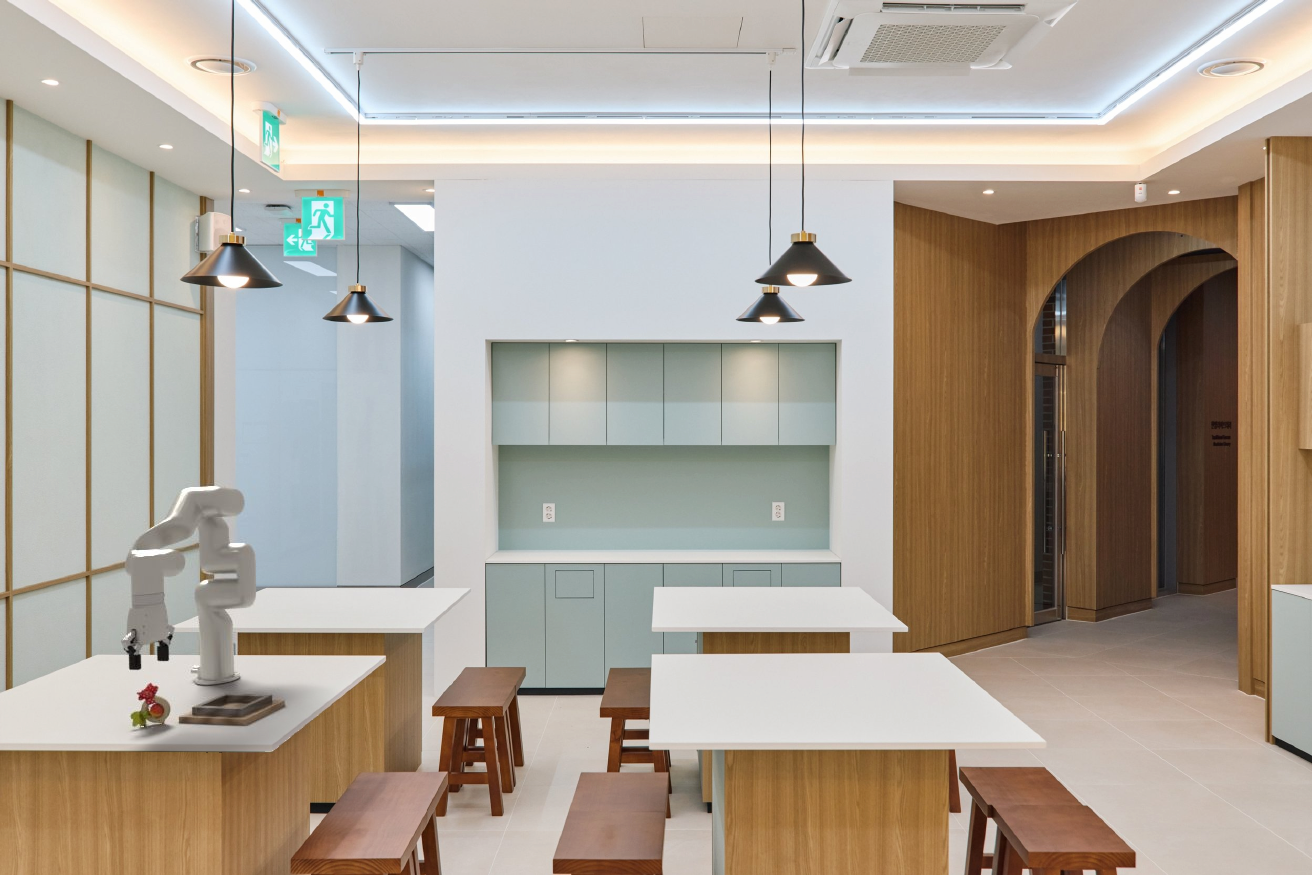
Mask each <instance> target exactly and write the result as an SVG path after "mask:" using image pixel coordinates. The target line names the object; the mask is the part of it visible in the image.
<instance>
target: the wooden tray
mask: <svg viewBox="0 0 1312 875" xmlns="http://www.w3.org/2000/svg"><path fill="white" fill-rule="evenodd" d="M285 706H286V700H284V699H273V694H258V693H257V694H256V693H255V694H254V693H253V694H252V693H229V692H228V693H225V692H224V693H223V694H220V695H218V696H214V697H213V698H210V699H208V700H205V701H204V702H201V703H198V704H196V705H194V706H192V707H191V711H188V712H186V713H183V714H182V715H180V716H178V723H185V724H186V723H189V724H205V725H206V724H210V725H212V724H213V725H230V726H231V725H232V726H233V725H235V726H246V725H248V724H250V723H252V722H255V721H256V720H259V719H260V718H261V719H262V718H263V717H265V716H267V715H269V714H271V713H273V712H275V711H277V710H279V709H281V708H284V707H285Z"/></svg>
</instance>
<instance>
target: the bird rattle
mask: <svg viewBox="0 0 1312 875" xmlns="http://www.w3.org/2000/svg"><path fill="white" fill-rule="evenodd" d="M158 690H159V687H158V685H154V684H153V683H152V682H149V683H148V684H147V685H146V687H145V688H144V689H142V690H141V691H140V692H136V694H137V695H138V698H137V699H138V701H140V702H141V701H143V700H144V701H143V702H142V704H141V709H140V710H137V711H136V710H135V711H133V712H132V713H131V714H130V719H131V720H132V727H137V726H138V725H139V726H140V727H141V726H144V725H145V726H146V724H147V722H151V723H154V724H157V723H158V724H159V723H163V724H165V722H166V719H167V718H168V717H169V715H171V714H170V713H171V705H170V703H169V701H168V700H167V699H166V698H164V697H162V696H160V695H156V694H157V692H158ZM150 705H151V706H150ZM145 723H146V724H145Z"/></svg>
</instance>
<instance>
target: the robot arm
mask: <svg viewBox="0 0 1312 875" xmlns="http://www.w3.org/2000/svg"><path fill="white" fill-rule="evenodd" d="M245 504H246V503H245V497H244V495H243V493H242V491H240V490H239V489H237V488H233V487H232V488H231V487H225V486H224V487H222V486H198V487H186V488H184V489H182V490H180V491H179V492H178V493H177V495H176V496H175V498H174V501H173V502H172V504H171V506H170V508H169V510H168V512H167V513H166V515H165V518H164V520H163V521H161V522H160V523H158V524H155V525H154V526H153V527H151V528H149V529H148V530H146V531H144V532H143V533H142V534H140V535H139V536H138V537H137V538H136V539H135V540H134V542H133V544H132V546H131V547H130V549H129V551H128V552H127V556H126V557H125V561H124V562H125V563H124V568H125V572H126V574H127V575H128V576H129V577H130V582H131V588H130V589H131V607H129V611H128V615H127V620H126V635H125V636H124V637H123V638H122V639H121V641H120V642H121V645H122V647H123V650H124V651H125V652H126V655H127V656H128V669H129V670H130V671H140V670H142V654H141V653H140V652H141V650H142V649H143V647H144V646H148V645H151V644H155V643H157V644H158V645H157V646H156V658H157V661H158V662H169V661H170V645H171V641H172V639H173V636H174V633H175V626H172V625H170V624H169V619H168V618H169V617H168V612H167V607H166V603H165V596H166V595H165V584H164V583H165V579H164V578H171V577H176V576H178V575H180V574H181V573H182V572H183V570H184V569H185V567H186V566H185V565H186V558H185V556H184V554H183V553H182V551H180V550H178V549H177V550H176V549H167V548H166V547H169V546H173V545H174V544H178V543H180V542H183V541H185V540H188V539H189V538H191V537H192V536H193V535H194V534H195V531H196V529H197V530H198V542H199V543H198V545H199V546H198V548H199V549H198V550H199V552H198V553H199V555H198V556H199V557H198V558H199V568H200V570H201V572H202V573H204V574H206V575H231V574H232V575H233V574H235V575H236V576H237V577H229V578H227V577H225V578H223V577H222V578H209V579H204V580H201V581H200V582H199V583H198V584H197V585H196V586H195V588H194V594H193V595H194V601H195V605H196V610H197V614H198V615H197V616H198V636H199V638H198V639H199V662H200V663H199V665H194V666H193V667H192V668H191V669H190V673H191V674H197V677H196V678H195V679H194V682H195V684H197V685H202V686H211V685H219V684H226V683H231V682H233V681H236V680H238V679H239V678H240V677H241V675H240V674H241V673H240V672H239V671H235V653H234V652H235V650H234V649H235V647H234V624H233V620H232V617H231V616H230V614H229V613H228V612H227V611H226V610H232V609H234V610H236V609H247V608H250V607H251V606H252V605H254V603H255V602H256V596H257V575H256V574H257V570H256V567H257V566H256V563H257V562H256V554H255V550H254V548H253V547H252V545H250V543H246V542H245V543H244V542H235V543H233V542H230V528H229V525H228V523H227V522H226V520H225V519H224V518H226V517H237V516H239V515H240V514H242V512H243V510H244V508H245ZM163 548H166V549H163Z"/></svg>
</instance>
